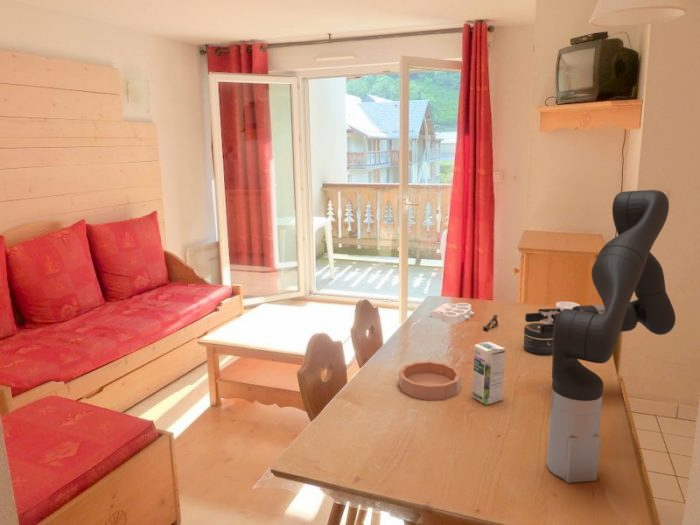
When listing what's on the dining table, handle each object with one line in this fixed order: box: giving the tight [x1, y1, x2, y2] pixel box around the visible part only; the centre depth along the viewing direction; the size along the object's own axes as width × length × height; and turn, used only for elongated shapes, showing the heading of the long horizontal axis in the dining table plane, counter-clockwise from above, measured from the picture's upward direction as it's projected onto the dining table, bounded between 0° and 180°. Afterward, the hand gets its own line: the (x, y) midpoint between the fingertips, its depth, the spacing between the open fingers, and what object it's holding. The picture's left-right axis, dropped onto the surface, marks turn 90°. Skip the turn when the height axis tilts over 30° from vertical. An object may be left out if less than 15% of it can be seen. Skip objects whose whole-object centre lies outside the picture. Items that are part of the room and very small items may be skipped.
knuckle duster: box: [429, 302, 475, 325], centre depth 208 cm, size 3×18×15 cm
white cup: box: [555, 301, 581, 311], centre depth 187 cm, size 8×8×10 cm
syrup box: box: [471, 341, 506, 406], centre depth 140 cm, size 6×6×14 cm
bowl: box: [398, 360, 461, 401], centre depth 148 cm, size 16×16×4 cm
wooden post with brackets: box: [482, 314, 499, 332], centre depth 194 cm, size 2×8×4 cm, turn 134°
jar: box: [523, 322, 553, 356], centre depth 172 cm, size 10×10×8 cm
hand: (532, 323), depth 138 cm, fingers open, 8 cm apart
